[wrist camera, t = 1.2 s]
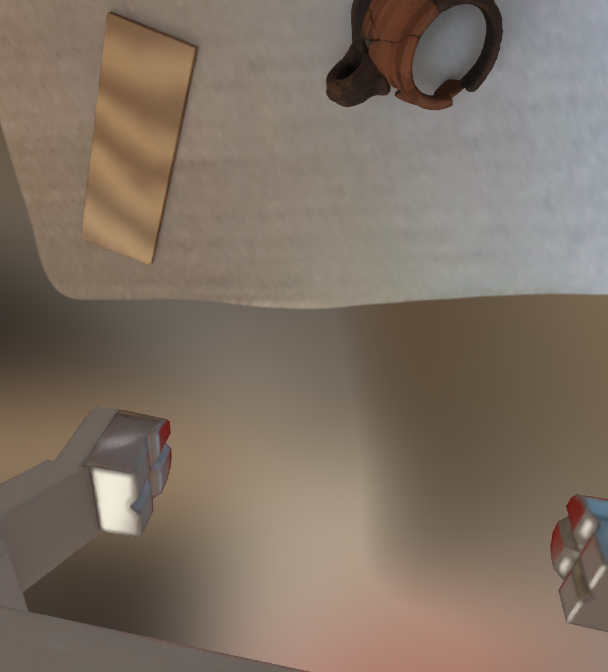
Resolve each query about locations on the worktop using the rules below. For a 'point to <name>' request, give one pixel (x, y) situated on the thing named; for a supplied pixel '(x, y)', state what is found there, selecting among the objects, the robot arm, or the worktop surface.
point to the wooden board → (135, 136)
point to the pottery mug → (404, 52)
